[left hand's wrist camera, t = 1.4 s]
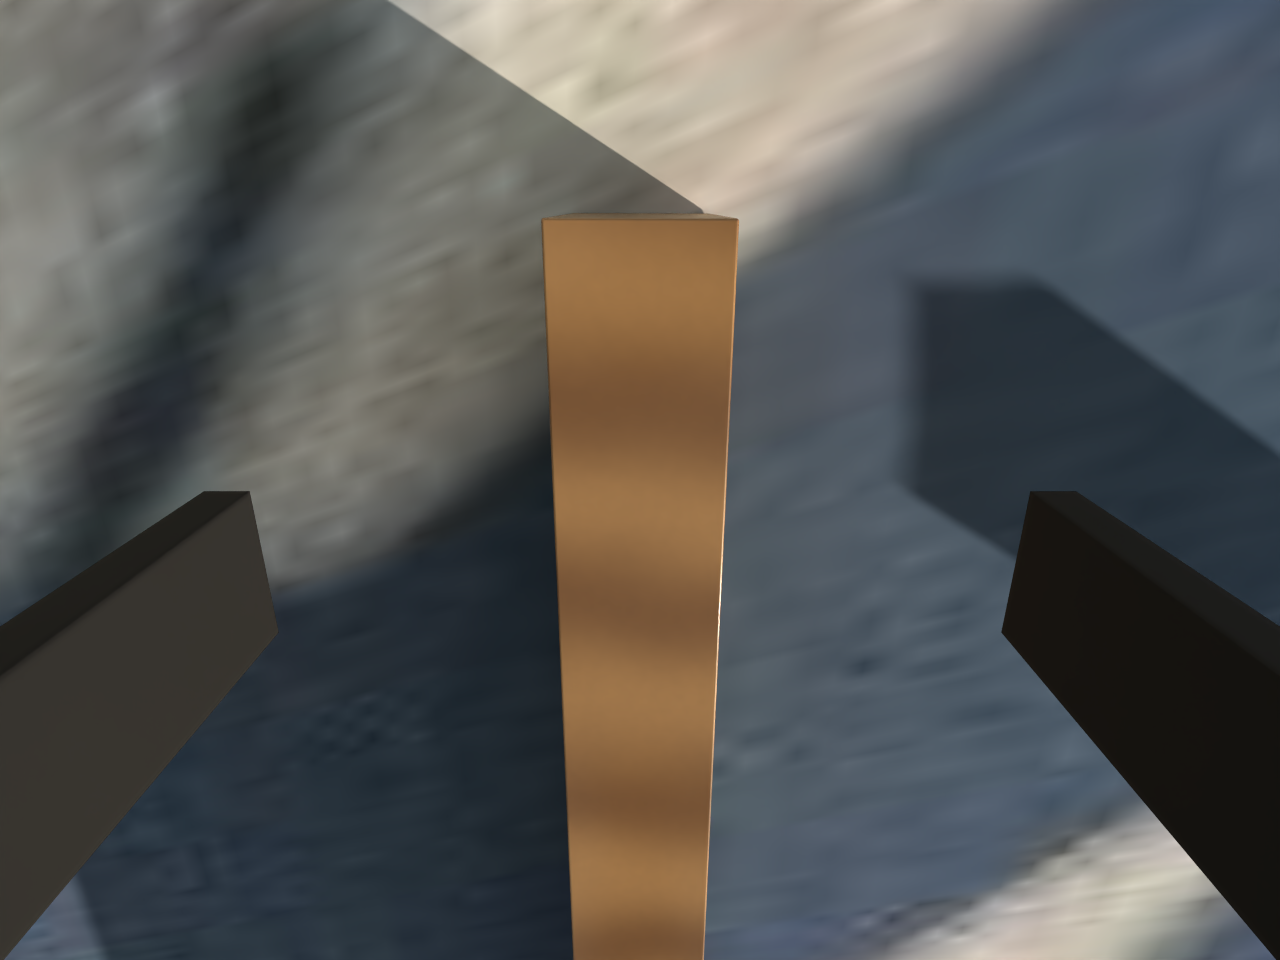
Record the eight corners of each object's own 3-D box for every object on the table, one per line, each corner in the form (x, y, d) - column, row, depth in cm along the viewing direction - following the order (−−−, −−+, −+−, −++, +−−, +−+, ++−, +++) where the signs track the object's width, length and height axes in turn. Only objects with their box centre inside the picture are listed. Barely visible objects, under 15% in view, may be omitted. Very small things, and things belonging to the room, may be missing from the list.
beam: (572, 212, 24) (540, 217, 17) (709, 213, 24) (739, 218, 17) (601, 1226, 46) (593, 1425, 38) (675, 1227, 46) (681, 1426, 38)
